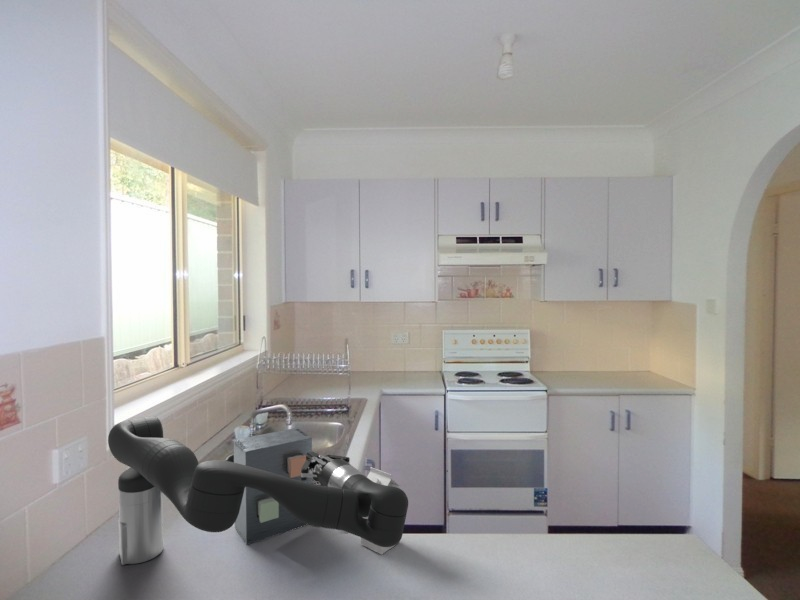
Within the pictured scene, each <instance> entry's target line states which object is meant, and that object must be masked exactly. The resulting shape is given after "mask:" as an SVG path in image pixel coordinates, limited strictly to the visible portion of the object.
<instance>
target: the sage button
mask: <svg viewBox="0 0 800 600" xmlns="http://www.w3.org/2000/svg"><path fill="white" fill-rule="evenodd" d="M257 515H258V516H259V521H260V522H261V523H262V522H266V521H269V520H272V519H275V518H279V503H278V502H277V501H276V500H274V499H273V498H272V497H266V498H263V499H259V500H257Z"/></svg>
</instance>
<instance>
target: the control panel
mask: <svg viewBox="0 0 800 600" xmlns="http://www.w3.org/2000/svg"><path fill="white" fill-rule="evenodd" d="M312 444H313V437H312V436H310V435H309V434H307V433H306V432H304V431H303V430H301V429H300V428H298V427H294V428H287V429H283V430H279V431H273V432H267V433H264V434H259V435H258V434H257V435H252V436H247V437H242V438H238V439H233V454H234V463H238V464H242V465H246V466H250V467H253V468H257V469H260V470H264V471H268V472H271V473H275V474H278V475H281V476H285V477H288V478H291V477H289V473H288V472H287V471H286V457H288V456H292V455H296V454H301V455H302V456H304V455H307V453H308V452H312V451H313V445H312ZM311 471H312V472H313V469H311ZM291 479H294V480H298V481H301V482H305V483H310V484H313V478H312V477H309V478H307V479H306V480H304V481H302V480H301V475H300V476H297V477H293V478H291ZM266 497H270V496H269V495H267V494H266V493H264V492H262V491H260V490H257V489H253V488H250V487H245V489H244V494H243V498H242V503H241V507H240V511H239V514H238V517H237V519H236V521H235V523H234V528H235V530H236V531H237V533H238V534H239V536H240V537H241V539H242V540H243V542H244V543H245V544H246V545H249V544H253V543H257V542H259V541H262V540H265V539H268V538H271V537H275V536H277V535H280V534H284V533H286V532H290V531H293V530H296V529H298V527H299V528H301V526H302V527H304V526H303V525H305V526H307V525H306V524H305V523H303V522H301V521H299V520H298V519H296V518H295V517H294V516H293V515H292V514H290V513H289V512H288V511H287V510H286V509H285V508H284V507H283V506H282V505H280V504H279V518H275V519H272V520H269V521H266V522H262V523H261V522H260V521H259V516H258V515H257V500H259V499H263V498H266ZM295 528H296V529H295ZM292 529H293V530H292Z"/></svg>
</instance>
